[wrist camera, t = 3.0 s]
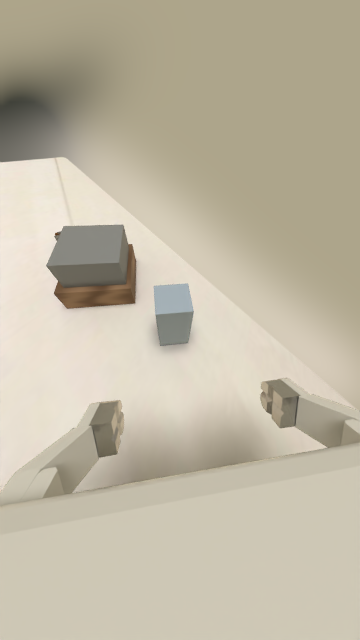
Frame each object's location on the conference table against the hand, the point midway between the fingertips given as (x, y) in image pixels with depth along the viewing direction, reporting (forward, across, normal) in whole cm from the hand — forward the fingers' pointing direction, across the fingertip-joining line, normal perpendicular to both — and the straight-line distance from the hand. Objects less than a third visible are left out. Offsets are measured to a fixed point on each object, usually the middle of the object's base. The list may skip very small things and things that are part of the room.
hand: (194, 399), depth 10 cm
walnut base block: (+28, -12, +7) cm, 32 cm away
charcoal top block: (+25, -12, +10) cm, 30 cm away
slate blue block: (+19, 0, -2) cm, 19 cm away
